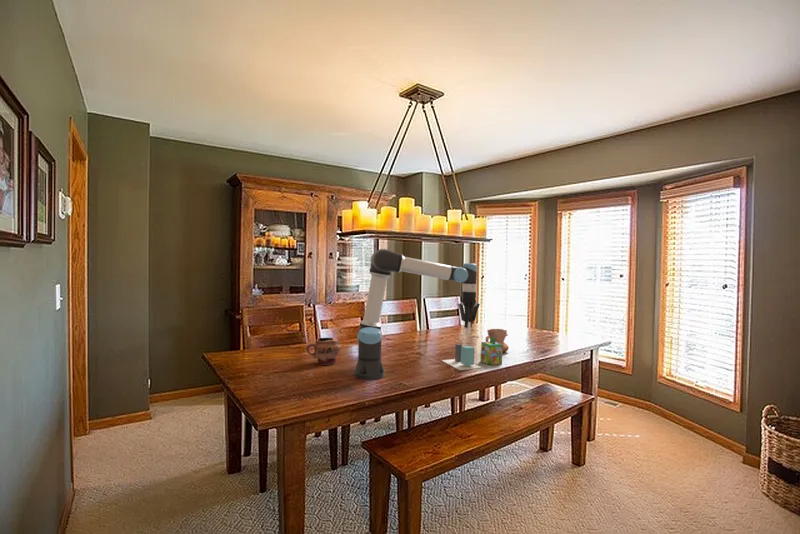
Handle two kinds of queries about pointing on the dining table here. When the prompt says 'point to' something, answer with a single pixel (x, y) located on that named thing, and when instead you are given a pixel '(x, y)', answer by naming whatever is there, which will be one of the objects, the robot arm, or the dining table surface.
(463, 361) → the teal rectangular block
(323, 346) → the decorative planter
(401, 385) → the dining table surface
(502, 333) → the ceramic jug
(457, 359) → the black post
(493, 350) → the chalk box
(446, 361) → the board
